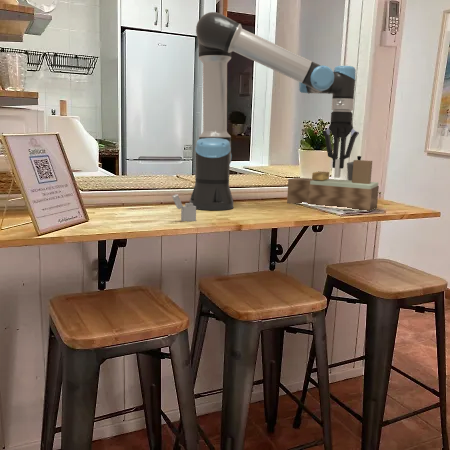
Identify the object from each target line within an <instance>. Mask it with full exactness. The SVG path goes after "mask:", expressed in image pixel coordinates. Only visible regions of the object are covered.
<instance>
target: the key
mask: <svg viewBox="0 0 450 450" xmlns="http://www.w3.org/2000/svg"><path fill="white" fill-rule="evenodd" d="M311 179H312V180H326V179H330V172H329V171H316V172H315V171H314V172H312V175H311Z"/></svg>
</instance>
